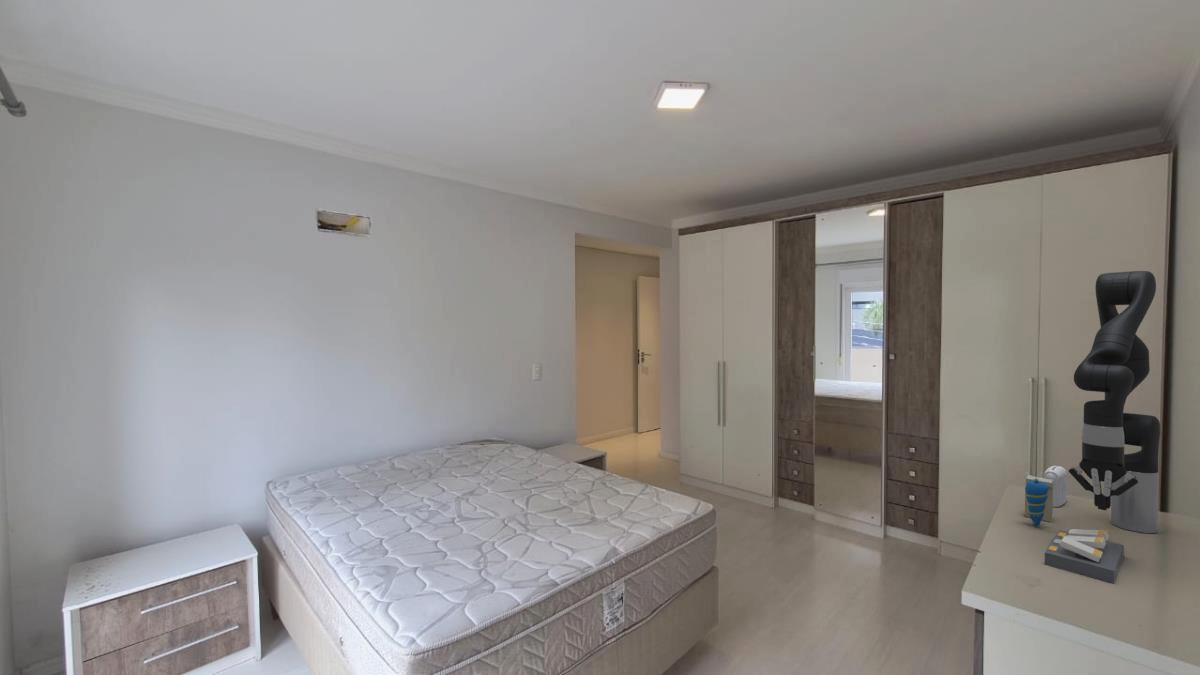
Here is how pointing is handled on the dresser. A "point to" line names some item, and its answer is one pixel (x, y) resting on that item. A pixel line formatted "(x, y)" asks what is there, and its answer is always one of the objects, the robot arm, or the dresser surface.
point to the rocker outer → (1081, 549)
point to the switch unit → (1086, 559)
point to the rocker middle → (1089, 541)
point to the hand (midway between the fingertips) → (1102, 508)
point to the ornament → (1036, 499)
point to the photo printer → (1058, 484)
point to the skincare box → (1049, 501)
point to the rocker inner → (1089, 533)
